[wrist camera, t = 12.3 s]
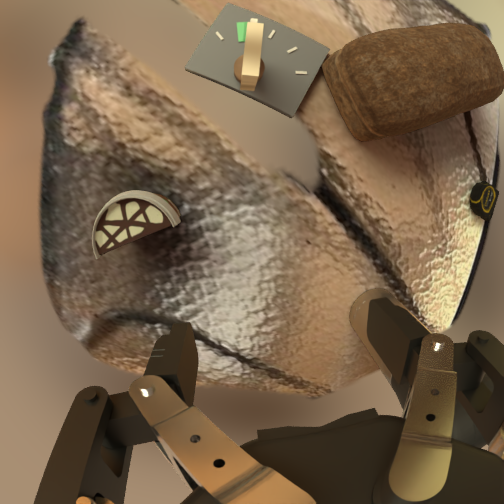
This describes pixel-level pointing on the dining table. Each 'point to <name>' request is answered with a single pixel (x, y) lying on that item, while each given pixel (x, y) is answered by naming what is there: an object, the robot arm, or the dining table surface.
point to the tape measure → (483, 200)
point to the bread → (412, 78)
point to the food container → (131, 219)
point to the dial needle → (250, 57)
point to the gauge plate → (272, 53)
